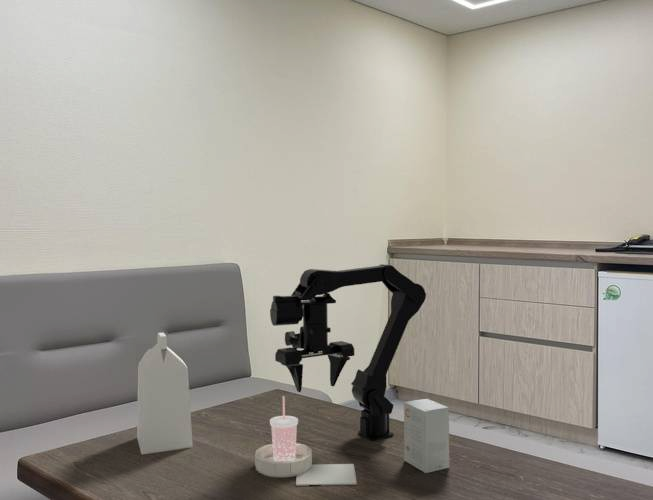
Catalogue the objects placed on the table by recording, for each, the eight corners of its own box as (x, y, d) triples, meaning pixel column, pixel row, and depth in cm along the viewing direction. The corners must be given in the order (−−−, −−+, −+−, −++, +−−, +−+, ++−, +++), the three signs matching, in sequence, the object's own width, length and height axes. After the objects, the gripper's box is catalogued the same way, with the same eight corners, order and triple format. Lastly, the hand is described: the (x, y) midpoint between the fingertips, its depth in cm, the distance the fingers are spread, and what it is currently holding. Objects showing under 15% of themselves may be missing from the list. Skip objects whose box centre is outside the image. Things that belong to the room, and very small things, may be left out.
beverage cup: (304, 461, 130) (303, 396, 129) (281, 469, 126) (280, 402, 125) (287, 453, 135) (286, 391, 134) (264, 461, 130) (263, 396, 130)
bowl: (294, 452, 138) (294, 438, 138) (322, 469, 128) (322, 455, 128) (246, 463, 132) (246, 449, 132) (271, 482, 122) (271, 467, 122)
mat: (353, 465, 130) (353, 463, 130) (356, 484, 120) (356, 483, 120) (297, 466, 130) (297, 464, 130) (295, 485, 120) (295, 484, 120)
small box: (450, 468, 128) (449, 407, 128) (425, 474, 125) (424, 411, 125) (427, 455, 135) (427, 397, 135) (403, 460, 133) (403, 401, 132)
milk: (192, 447, 142) (190, 336, 141) (141, 454, 138) (139, 340, 137) (184, 431, 153) (182, 329, 153) (137, 437, 149) (134, 332, 148)
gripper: (330, 315, 155) (331, 376, 155) (264, 322, 145) (265, 387, 145) (355, 321, 145) (356, 386, 146) (286, 328, 135) (287, 398, 136)
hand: (316, 388), depth 143 cm, fingers open, 9 cm apart
